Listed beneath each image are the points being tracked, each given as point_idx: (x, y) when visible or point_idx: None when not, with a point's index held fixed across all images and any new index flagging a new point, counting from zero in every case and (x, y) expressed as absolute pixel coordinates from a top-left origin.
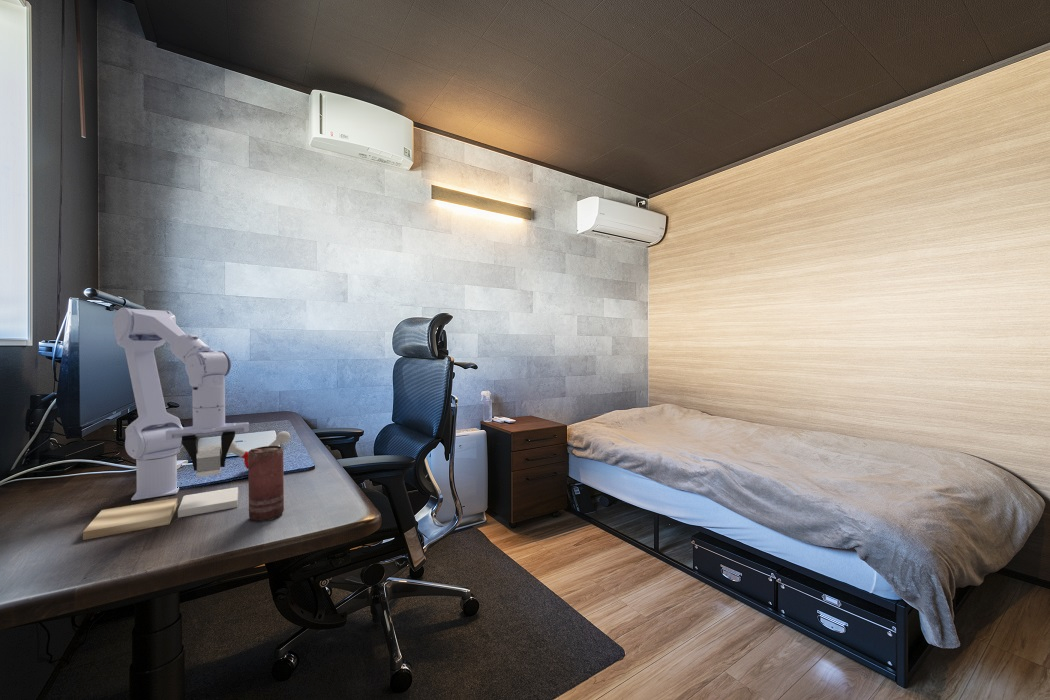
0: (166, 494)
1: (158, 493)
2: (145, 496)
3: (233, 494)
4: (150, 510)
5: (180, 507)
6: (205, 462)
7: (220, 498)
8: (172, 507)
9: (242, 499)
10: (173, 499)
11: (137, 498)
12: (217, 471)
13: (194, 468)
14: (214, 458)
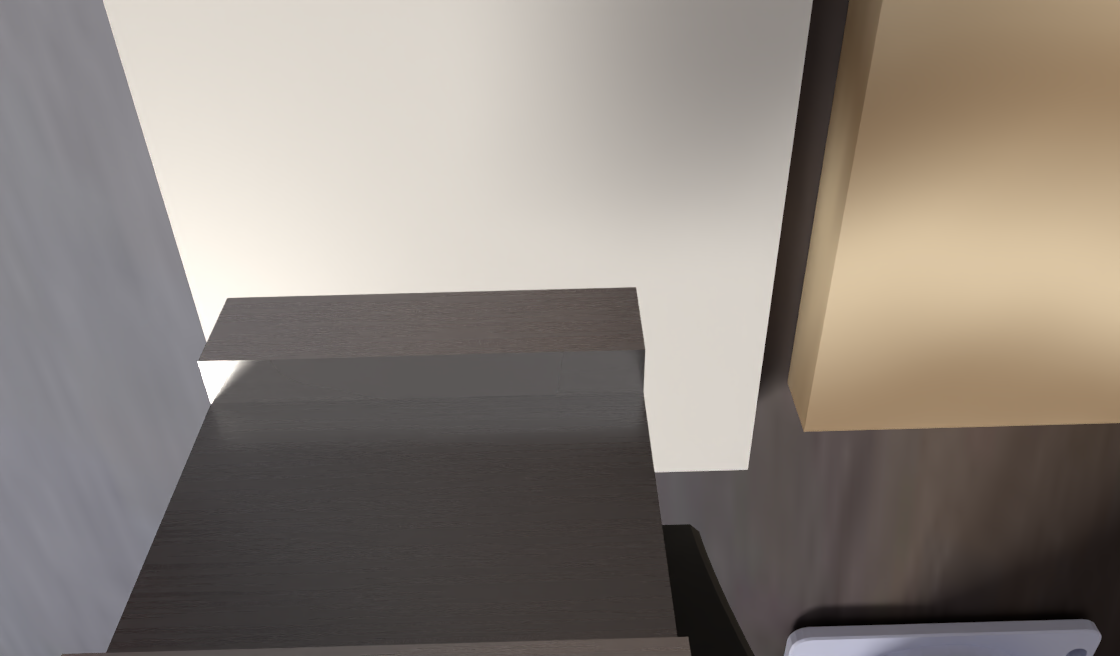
0: (864, 631)
1: (923, 652)
2: (1009, 641)
3: (228, 258)
4: (1086, 144)
5: (786, 70)
6: (476, 550)
7: (353, 176)
8: (868, 125)
9: (160, 222)
10: (842, 400)
11: (1062, 629)
12: (261, 340)
13: (696, 554)
14: (253, 620)
